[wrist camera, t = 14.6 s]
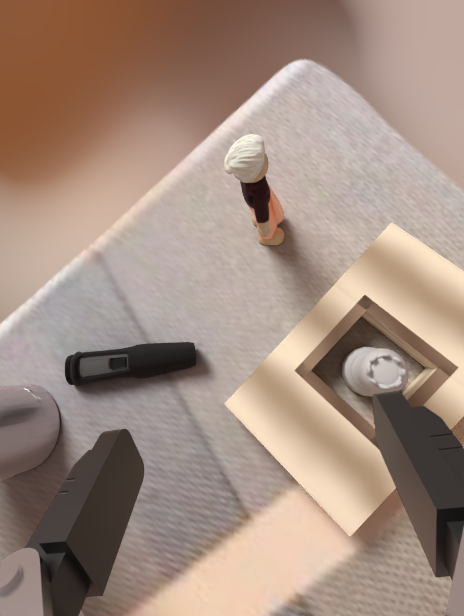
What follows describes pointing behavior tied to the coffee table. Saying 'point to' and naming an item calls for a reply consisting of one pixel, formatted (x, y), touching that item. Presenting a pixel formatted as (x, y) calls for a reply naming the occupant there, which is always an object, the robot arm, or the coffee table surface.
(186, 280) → the coffee table surface
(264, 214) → the grandmother figurine
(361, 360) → the rook chess piece
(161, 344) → the electric trimmer
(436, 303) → the socket board
